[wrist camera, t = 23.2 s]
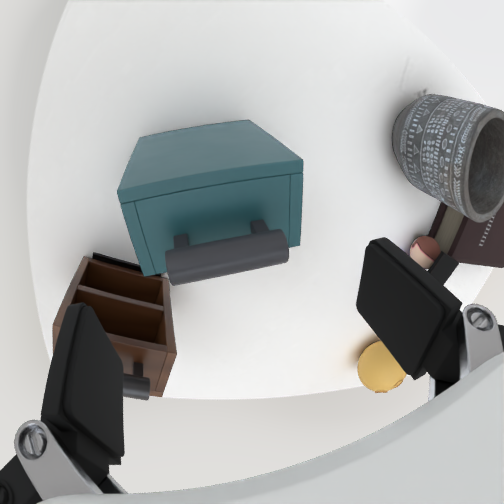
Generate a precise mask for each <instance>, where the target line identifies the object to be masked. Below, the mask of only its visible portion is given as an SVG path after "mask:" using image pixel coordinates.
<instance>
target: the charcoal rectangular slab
mask: <svg viewBox="0 0 504 504" xmlns="http://www.w3.org/2000/svg"><path fill="white" fill-rule="evenodd" d="M92 259H95V260H99V261H102V262H106V263H109V264H113V265H116V266H120V267H124V268H127V269H131V270H135V271H139V272H142V269H141V267H140V265H137V264H134V263H130V262H126V261H123V260H119V259H115V258H112V257H108V256H105V255H101V254H98V253H94V252H93V256H92ZM142 273H143V272H142ZM154 276H158V277H160V276H161V273H160V274H155V275H154Z"/></svg>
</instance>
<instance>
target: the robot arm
mask: <svg viewBox="0 0 504 504" xmlns="http://www.w3.org/2000/svg"><path fill="white" fill-rule="evenodd" d="M461 305H462V302H461V301H460V300H459V299H457V298H456V297H455V296H454V295H453V294H452V293H451V292H450V291H449V290H448V289H447V288H446V287H444V286H443V285H442V284H441V283H440V282H439V281H438V280H437V279H435V278H434V277H433V276H432V275H431V274H430V273H429V272H427V271H426V270H425V269H424V268H423V267H422V266H420V265H419V264H418V263H417V262H416V261H415V260H413V259H412V258H411V257H410V256H409V255H407V254H406V253H405V252H404V251H402V250H401V249H400V248H399V247H398V246H396V245H395V244H394V243H393V242H391V241H390V240H389V239H387V238H385V237H383V238H379V239H375V240H371V241H370V242H369V245H368V246H367V247H366V250H365V256H364V262H363V269H362V275H361V280H360V286H359V291H358V296H357V302H356V306H357V310H358V312H359V313H360V314H361V316H362V317H363V318H364V319H365V321H366V322H367V323H368V324H369V326H370V327H371V328H372V330H373V331H374V332H375V333H376V335H377V336H378V337H379V339H380V340H381V341H382V343H383V344H384V345H385V346H386V348H387V349H388V350H389V352H390V353H391V354H392V356H393V357H394V358H395V360H396V361H397V362H398V364H399V365H400V366H401V368H402V369H403V370H404V372H405V373H406V374H408V375H411V376H412V378H413V379H414V380H416V379H418V378H419V377H421V376H423V375H425V374H426V372H428V374H429V375H430V383H429V398H428V402H427V403H426V404H424V405H422V406H421V407H419V408H417V409H416V410H414V411H413V412H411V413H409V414H408V415H406V416H404V417H402V418H401V419H399V420H397V421H395V422H393V423H391V424H389V425H388V426H386V427H384V428H382V429H380V430H378V431H376V432H374V433H372V434H370V435H368V436H366V437H364V438H362V439H360V440H357V441H355V442H353V443H351V444H348V445H346V446H344V447H341V448H339V449H337V450H334V451H332V452H329V453H327V454H324V455H322V456H319V457H316V458H314V459H311V460H308V461H305V462H302V463H300V464H296V465H293V466H290V467H287V468H284V469H281V470H278V471H274V472H270V473H267V474H263V475H259V476H255V477H251V478H247V479H243V480H238V481H233V482H229V483H224V484H219V485H213V486H207V487H200V488H193V489H186V490H177V491H165V492H153V493H134V494H128V493H127V492H126V491H125V490H124V489H123V488H122V487H121V486H120V485H119V484H118V483H117V482H116V481H115V480H114V478H112V476H111V475H110V474H109V465H121V457H123V456H124V433H123V371H124V369H123V363H122V360H121V358H120V357H119V355H118V353H117V352H116V350H115V348H114V347H113V345H112V343H111V341H110V340H109V338H108V336H107V334H106V333H105V331H104V329H103V327H102V325H101V323H100V321H99V320H98V318H97V316H96V314H95V312H94V310H93V308H92V307H91V306H87V305H86V304H85V303H77V304H72V305H69V306H68V307H67V309H66V312H65V315H64V318H63V321H62V324H61V328H60V331H59V335H58V338H57V342H56V345H55V349H54V353H53V357H52V361H51V365H50V369H49V374H48V378H47V383H46V389H45V393H44V399H43V405H42V411H41V421H38V420H30V421H27V422H25V423H24V424H22V425H21V426H20V428H19V429H18V431H17V433H16V435H15V440H14V446H15V450H16V455H15V456H14V457H13V458H12V459H11V460H10V461H9V462H8V463H7V464H6V465H5V466H4V468H3V469H2V470H0V504H504V326H503V325H498V324H497V320H496V318H495V316H494V315H493V313H492V312H491V311H490V310H489V309H488V308H486V307H484V306H482V305H479V304H470V305H467V306H466V307H465V308H464V310H463V312H461V311H460V310H459V309H460V307H461Z"/></svg>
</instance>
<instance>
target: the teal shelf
mask: <svg viewBox="0 0 504 504" xmlns="http://www.w3.org/2000/svg"><path fill="white" fill-rule="evenodd" d="M302 172H303V159H301V158H300V157H299V156H298V155H296V154H295V153H294V152H292V151H291V150H290V149H289V148H287V147H286V146H285V145H283V144H282V143H281V142H279V141H278V140H277V139H275V138H274V137H273V136H271V135H270V134H268V133H267V132H266V131H264V130H263V129H262V128H260V127H259V126H257V125H256V124H254V123H253V122H252V121H250V120H242V121H233V122H225V123H217V124H210V125H203V126H197V127H191V128H185V129H179V130H174V131H168V132H163V133H158V134H153V135H149V136H144V137H140V138H139V140H138V142H137V144H136V146H135V149H134V151H133V153H132V155H131V158H130V160H129V162H128V165H127V167H126V170H125V172H124V175H123V177H122V180H121V182H120V185H119V187H118V190H117V194H118V198H119V201H120V203H121V209H122V212H123V215H124V219H125V222H126V225H127V228H128V231H129V234H130V238H131V241H132V244H133V247H134V249H135V252H136V255H137V258H138V261H139V264H140V267H141V269H142V272H143V275H144V276H150V275H155V274H160V273H165V272H167V273H168V277H169V280H170V283H171V284H172V285H173V286H175V285H180V284H185V283H190V282H195V281H200V280H205V279H210V278H215V277H220V276H225V275H230V274H235V273H239V272H244V271H249V270H254V269H259V268H263V267H268V266H273V265H277V264H282V263H286V262H287V261H288V259H289V248H290V247H295V246H300V236H301V217H302V195H303V173H302ZM288 247H289V248H288Z"/></svg>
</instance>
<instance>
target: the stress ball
mask: <svg viewBox="0 0 504 504" xmlns="http://www.w3.org/2000/svg"><path fill="white" fill-rule="evenodd" d="M357 368H358V376H359V378H360V380H361V382H362V383H363V384H364V386H366V387H367V388H368V389H370V390H373V391H375V393H380V392H383V393H386V392H387V391H389V390H391V389H393V388H396V387H398V386H399V385H400V384H401V383H402V382H403V379H404V378H405V377H406V373H405V372H404V370H403V369H402V368H401V366H400V365H399V364H398V362H397V361H396V360H395V358H394V357H393V356H392V354H391V353H390V352H389V350H388V349H387V348H386V346H385V345H384V344H383V343H382V341H378V342H375V343H373V344H371V345H370V346H368V347H367V348H366V349H365V350H364V351H363V353H362V354H361V356H360V358H359V361H358V367H357Z"/></svg>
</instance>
